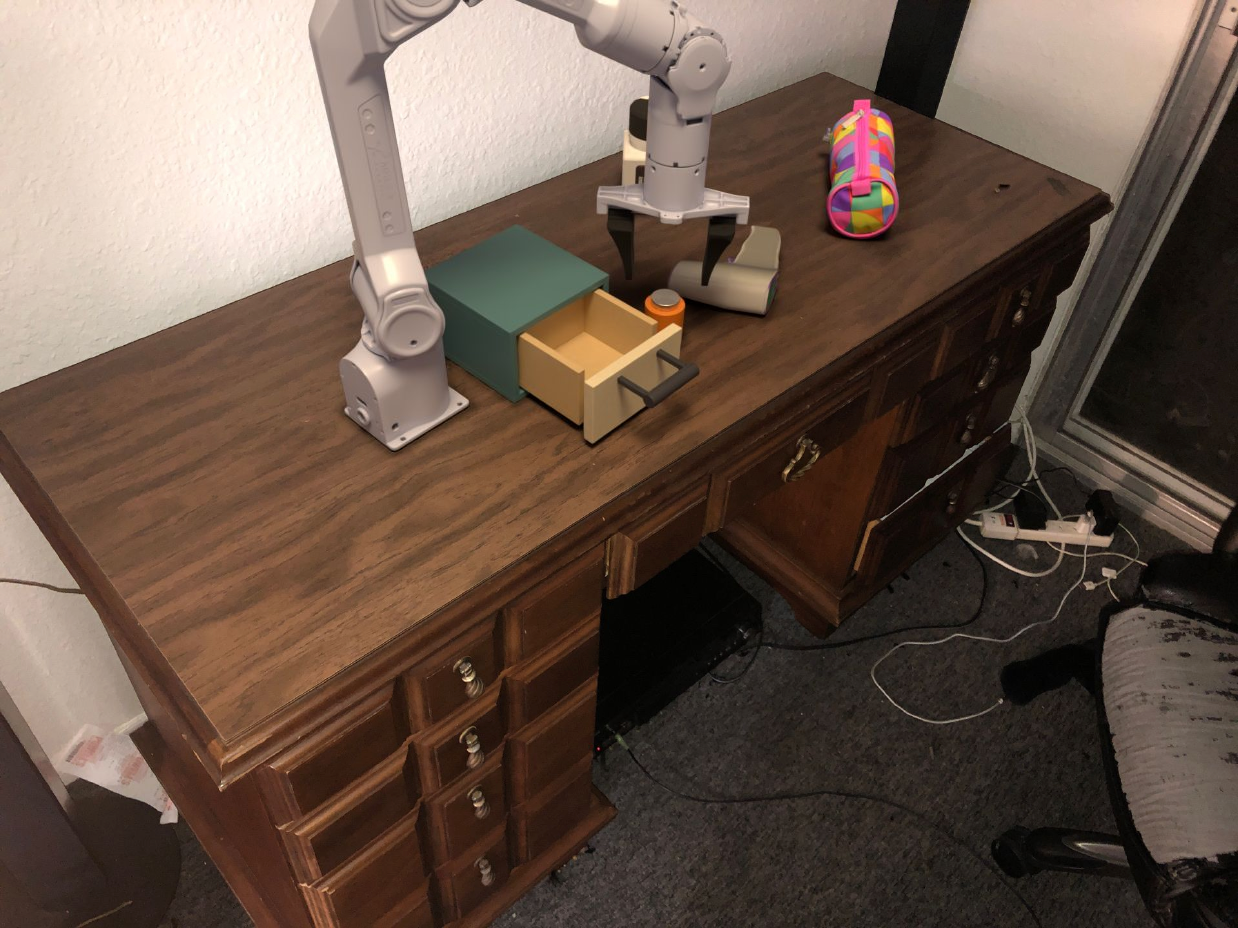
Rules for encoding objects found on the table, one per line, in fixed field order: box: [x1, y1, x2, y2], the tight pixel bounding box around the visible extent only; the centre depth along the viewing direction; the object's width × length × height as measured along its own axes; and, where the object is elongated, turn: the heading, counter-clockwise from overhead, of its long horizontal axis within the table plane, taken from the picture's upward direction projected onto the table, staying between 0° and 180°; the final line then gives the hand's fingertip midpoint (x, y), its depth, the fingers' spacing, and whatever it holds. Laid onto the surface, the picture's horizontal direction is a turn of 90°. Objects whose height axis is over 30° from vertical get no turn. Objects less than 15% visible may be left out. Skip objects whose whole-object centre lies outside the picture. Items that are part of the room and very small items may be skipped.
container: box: [621, 94, 649, 186], centre depth 119 cm, size 8×8×13 cm
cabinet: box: [423, 223, 610, 404], centre depth 98 cm, size 14×14×9 cm
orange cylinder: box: [643, 288, 686, 343], centre depth 100 cm, size 4×4×6 cm
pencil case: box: [821, 99, 900, 240], centre depth 121 cm, size 22×9×9 cm, turn 172°
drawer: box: [516, 288, 701, 444], centre depth 92 cm, size 17×12×7 cm
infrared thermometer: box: [666, 225, 782, 316], centre depth 110 cm, size 5×12×15 cm
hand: (667, 277), depth 97 cm, fingers open, 7 cm apart
